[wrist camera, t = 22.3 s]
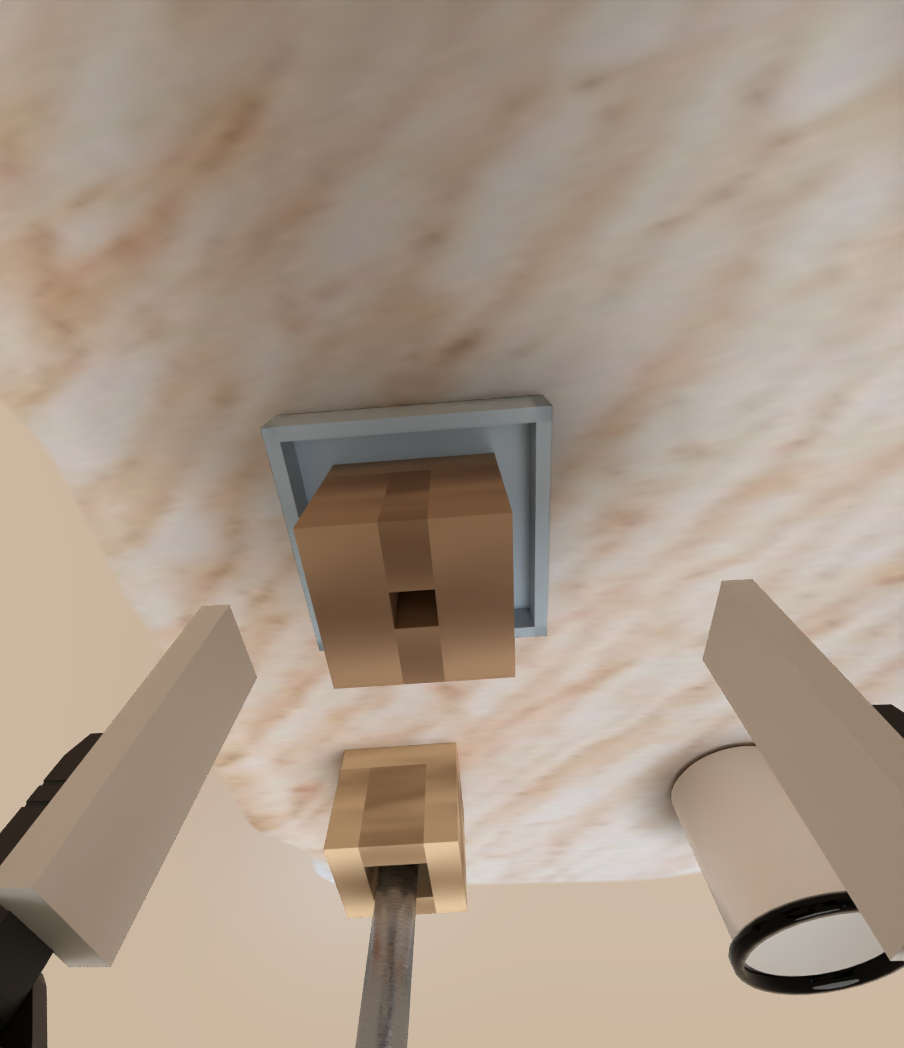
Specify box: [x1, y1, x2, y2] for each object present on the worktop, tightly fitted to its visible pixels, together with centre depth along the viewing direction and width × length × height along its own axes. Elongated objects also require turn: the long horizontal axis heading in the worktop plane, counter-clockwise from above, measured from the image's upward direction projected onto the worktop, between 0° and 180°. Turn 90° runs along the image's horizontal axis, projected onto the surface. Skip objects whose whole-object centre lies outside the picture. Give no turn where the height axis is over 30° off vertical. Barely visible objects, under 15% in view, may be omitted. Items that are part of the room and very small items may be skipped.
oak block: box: [324, 743, 467, 918], centre depth 28 cm, size 7×7×6 cm
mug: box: [671, 746, 904, 995], centre depth 27 cm, size 12×10×9 cm
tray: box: [261, 395, 552, 651], centre depth 21 cm, size 11×11×2 cm
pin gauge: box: [355, 864, 419, 1048], centre depth 23 cm, size 2×2×15 cm
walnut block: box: [293, 453, 515, 689], centre depth 19 cm, size 7×7×6 cm
